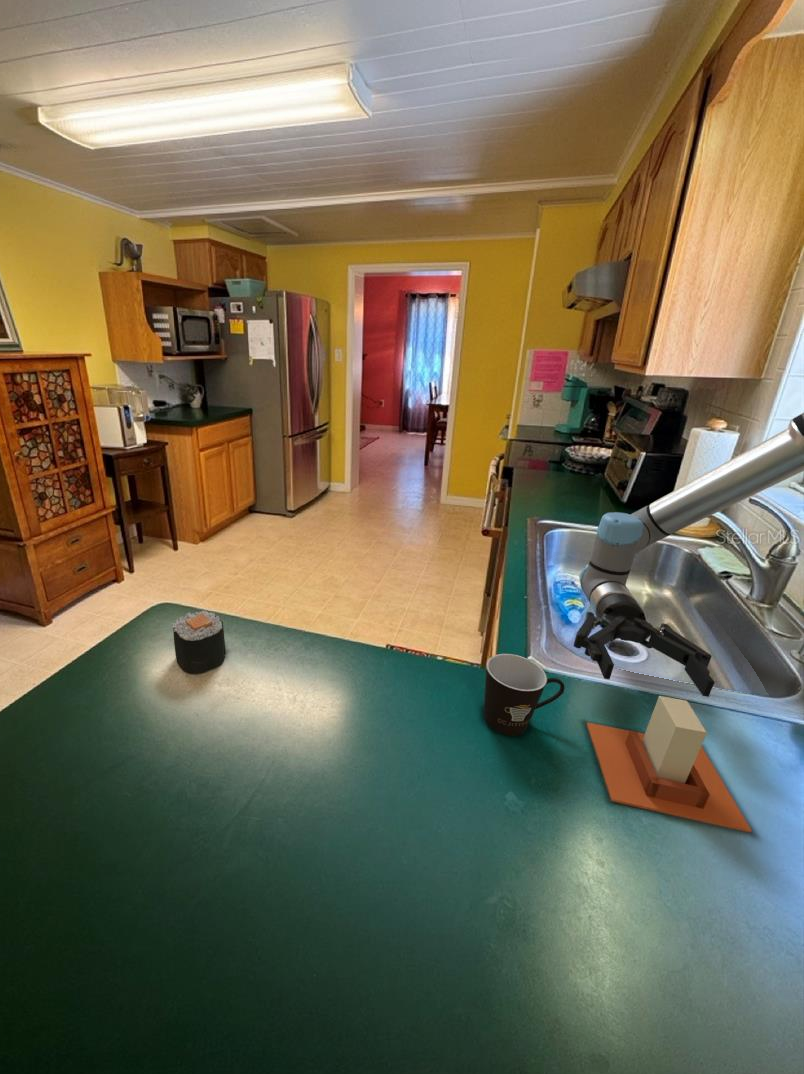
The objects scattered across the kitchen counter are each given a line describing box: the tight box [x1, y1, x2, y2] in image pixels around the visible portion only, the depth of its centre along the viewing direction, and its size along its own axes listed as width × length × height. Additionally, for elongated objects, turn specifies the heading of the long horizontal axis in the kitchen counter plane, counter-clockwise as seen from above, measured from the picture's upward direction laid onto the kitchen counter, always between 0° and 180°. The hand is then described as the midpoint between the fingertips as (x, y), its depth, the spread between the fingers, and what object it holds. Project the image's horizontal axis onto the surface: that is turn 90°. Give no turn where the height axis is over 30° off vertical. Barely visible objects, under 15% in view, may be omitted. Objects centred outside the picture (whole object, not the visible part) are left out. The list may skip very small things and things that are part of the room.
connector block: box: [642, 695, 708, 784], centre depth 64 cm, size 4×6×10 cm, turn 167°
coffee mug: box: [483, 653, 565, 737], centre depth 71 cm, size 12×9×10 cm
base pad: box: [586, 722, 752, 833], centre depth 65 cm, size 16×14×4 cm
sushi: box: [171, 610, 227, 675], centre depth 82 cm, size 8×8×8 cm
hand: (658, 680), depth 70 cm, fingers open, 13 cm apart
